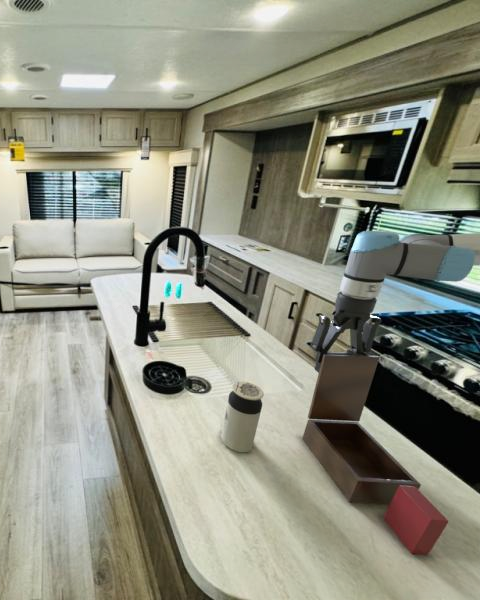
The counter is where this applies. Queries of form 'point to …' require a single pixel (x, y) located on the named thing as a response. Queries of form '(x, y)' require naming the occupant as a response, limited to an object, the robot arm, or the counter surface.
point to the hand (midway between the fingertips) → (331, 372)
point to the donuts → (169, 287)
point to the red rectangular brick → (415, 520)
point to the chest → (356, 461)
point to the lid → (342, 386)
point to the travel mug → (242, 416)
